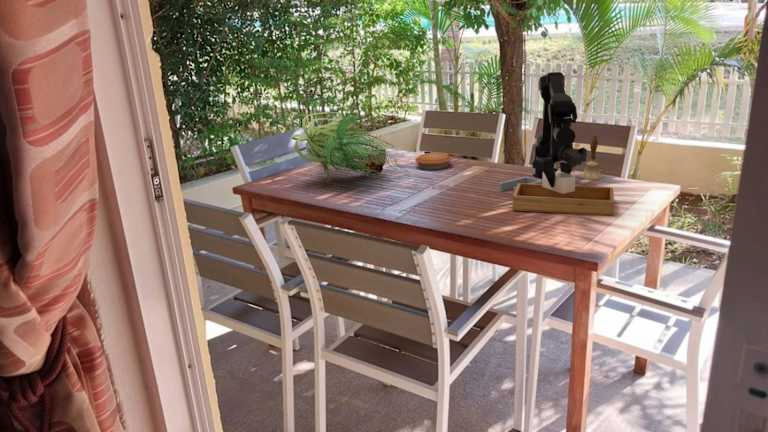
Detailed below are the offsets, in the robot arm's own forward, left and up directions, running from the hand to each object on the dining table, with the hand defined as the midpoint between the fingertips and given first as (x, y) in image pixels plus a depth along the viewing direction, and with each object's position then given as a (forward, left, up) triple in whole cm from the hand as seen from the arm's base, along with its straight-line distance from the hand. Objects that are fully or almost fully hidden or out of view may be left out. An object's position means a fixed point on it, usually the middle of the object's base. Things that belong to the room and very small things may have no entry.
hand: (558, 185), depth 198 cm
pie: (+2, -68, -7) cm, 68 cm away
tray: (0, +3, -7) cm, 8 cm away
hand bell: (-33, -14, -7) cm, 36 cm away
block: (0, 0, -1) cm, 1 cm away
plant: (+39, -69, -7) cm, 80 cm away
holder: (-1, -19, -6) cm, 21 cm away
